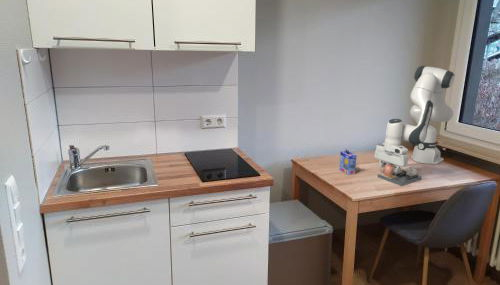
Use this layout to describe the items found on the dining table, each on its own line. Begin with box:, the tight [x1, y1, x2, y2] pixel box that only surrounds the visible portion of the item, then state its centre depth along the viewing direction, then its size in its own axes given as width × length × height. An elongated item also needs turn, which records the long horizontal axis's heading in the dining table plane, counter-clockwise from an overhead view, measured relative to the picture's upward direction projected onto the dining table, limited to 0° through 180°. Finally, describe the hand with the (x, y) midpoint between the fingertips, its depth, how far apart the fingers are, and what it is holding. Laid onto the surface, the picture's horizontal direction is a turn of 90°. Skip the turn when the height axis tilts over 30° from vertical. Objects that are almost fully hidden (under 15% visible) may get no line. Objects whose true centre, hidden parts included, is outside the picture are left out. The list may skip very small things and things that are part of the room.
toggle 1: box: [393, 164, 402, 175], centre depth 219 cm, size 4×4×5 cm
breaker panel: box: [377, 169, 422, 186], centre depth 217 cm, size 20×16×3 cm
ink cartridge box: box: [338, 148, 357, 176], centre depth 225 cm, size 10×6×14 cm, turn 20°
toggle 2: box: [405, 166, 418, 176], centre depth 216 cm, size 4×4×5 cm
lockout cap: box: [384, 164, 394, 177], centre depth 215 cm, size 5×5×7 cm
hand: (388, 169), depth 215 cm, fingers open, 8 cm apart
